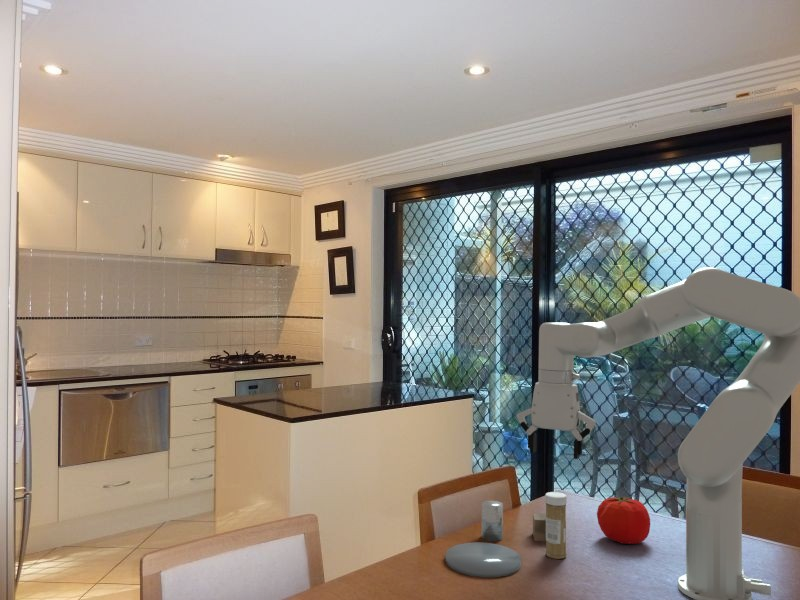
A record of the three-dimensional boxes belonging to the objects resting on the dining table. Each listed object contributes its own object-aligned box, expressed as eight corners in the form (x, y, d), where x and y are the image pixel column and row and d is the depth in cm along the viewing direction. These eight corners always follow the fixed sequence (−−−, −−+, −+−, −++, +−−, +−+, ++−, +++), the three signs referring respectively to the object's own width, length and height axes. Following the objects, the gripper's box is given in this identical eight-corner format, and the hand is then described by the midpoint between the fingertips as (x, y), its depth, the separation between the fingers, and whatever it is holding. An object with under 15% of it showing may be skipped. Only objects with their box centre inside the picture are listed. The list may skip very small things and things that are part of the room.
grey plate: (529, 555, 134) (529, 550, 134) (507, 583, 120) (507, 577, 120) (461, 543, 141) (461, 537, 141) (433, 567, 127) (433, 561, 127)
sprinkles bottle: (570, 556, 134) (570, 495, 134) (556, 561, 131) (556, 498, 132) (554, 550, 138) (555, 490, 138) (540, 554, 135) (540, 493, 136)
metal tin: (505, 536, 146) (505, 502, 147) (498, 542, 142) (499, 508, 142) (485, 532, 149) (485, 499, 149) (478, 539, 144) (478, 504, 144)
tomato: (653, 538, 146) (653, 494, 146) (646, 553, 136) (646, 507, 136) (602, 529, 152) (602, 487, 152) (592, 543, 142) (592, 499, 142)
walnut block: (553, 534, 148) (553, 514, 148) (556, 542, 143) (556, 520, 143) (532, 533, 148) (532, 513, 149) (534, 541, 143) (534, 519, 144)
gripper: (598, 379, 135) (597, 456, 135) (522, 374, 143) (521, 447, 143) (592, 382, 128) (591, 463, 128) (513, 376, 136) (511, 453, 136)
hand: (554, 455), depth 135 cm, fingers open, 9 cm apart
